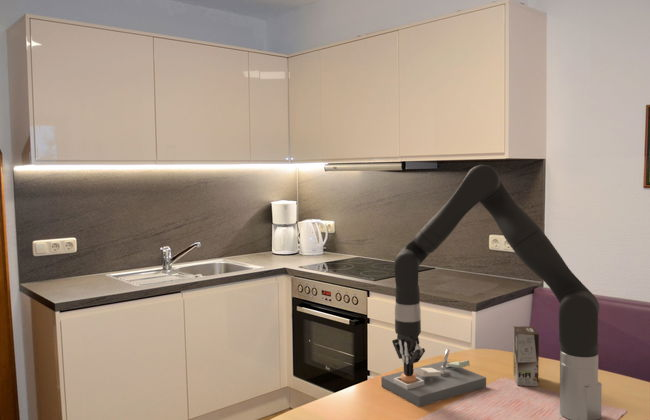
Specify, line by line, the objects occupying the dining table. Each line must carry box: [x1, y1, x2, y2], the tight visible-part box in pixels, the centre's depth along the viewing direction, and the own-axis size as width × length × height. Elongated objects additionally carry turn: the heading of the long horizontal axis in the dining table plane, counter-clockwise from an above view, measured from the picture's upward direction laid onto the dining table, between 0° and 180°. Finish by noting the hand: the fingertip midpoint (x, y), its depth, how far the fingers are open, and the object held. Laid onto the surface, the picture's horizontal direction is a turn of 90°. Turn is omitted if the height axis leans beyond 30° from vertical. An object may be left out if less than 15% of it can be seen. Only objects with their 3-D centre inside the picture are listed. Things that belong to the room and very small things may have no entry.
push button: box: [401, 373, 416, 384], centre depth 165 cm, size 4×4×2 cm
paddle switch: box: [448, 359, 470, 368], centre depth 175 cm, size 6×4×2 cm, turn 30°
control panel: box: [380, 360, 487, 408], centre depth 169 cm, size 18×26×4 cm
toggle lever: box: [441, 348, 450, 371], centre depth 172 cm, size 1×1×7 cm
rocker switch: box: [413, 367, 441, 377], centre depth 168 cm, size 4×7×1 cm, turn 120°
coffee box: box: [512, 325, 540, 387], centre depth 172 cm, size 9×6×16 cm
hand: (408, 374), depth 165 cm, fingers closed
